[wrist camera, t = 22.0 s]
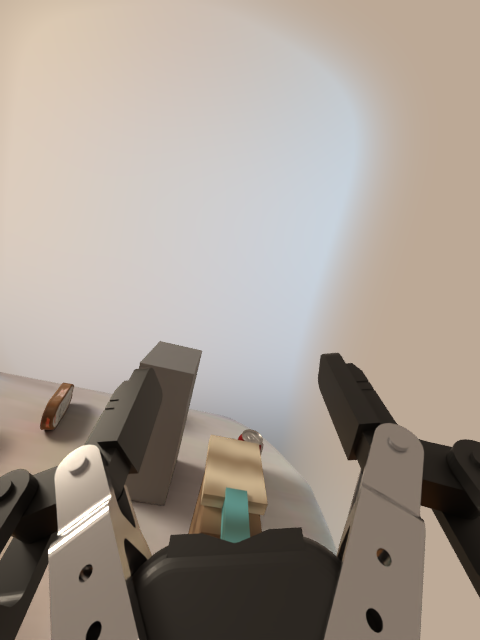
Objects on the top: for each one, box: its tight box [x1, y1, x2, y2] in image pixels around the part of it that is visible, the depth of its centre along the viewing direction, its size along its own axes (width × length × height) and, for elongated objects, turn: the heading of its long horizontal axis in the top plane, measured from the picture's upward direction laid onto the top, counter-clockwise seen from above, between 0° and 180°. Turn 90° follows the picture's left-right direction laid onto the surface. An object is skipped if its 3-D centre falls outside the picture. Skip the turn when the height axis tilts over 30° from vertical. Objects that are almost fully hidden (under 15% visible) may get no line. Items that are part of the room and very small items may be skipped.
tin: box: [40, 383, 74, 430], centre depth 64 cm, size 15×3×8 cm, turn 18°
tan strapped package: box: [201, 435, 268, 543], centre depth 32 cm, size 21×9×2 cm, turn 2°
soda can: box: [238, 429, 263, 456], centre depth 61 cm, size 7×7×12 cm
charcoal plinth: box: [125, 341, 202, 506], centre depth 52 cm, size 12×10×32 cm
